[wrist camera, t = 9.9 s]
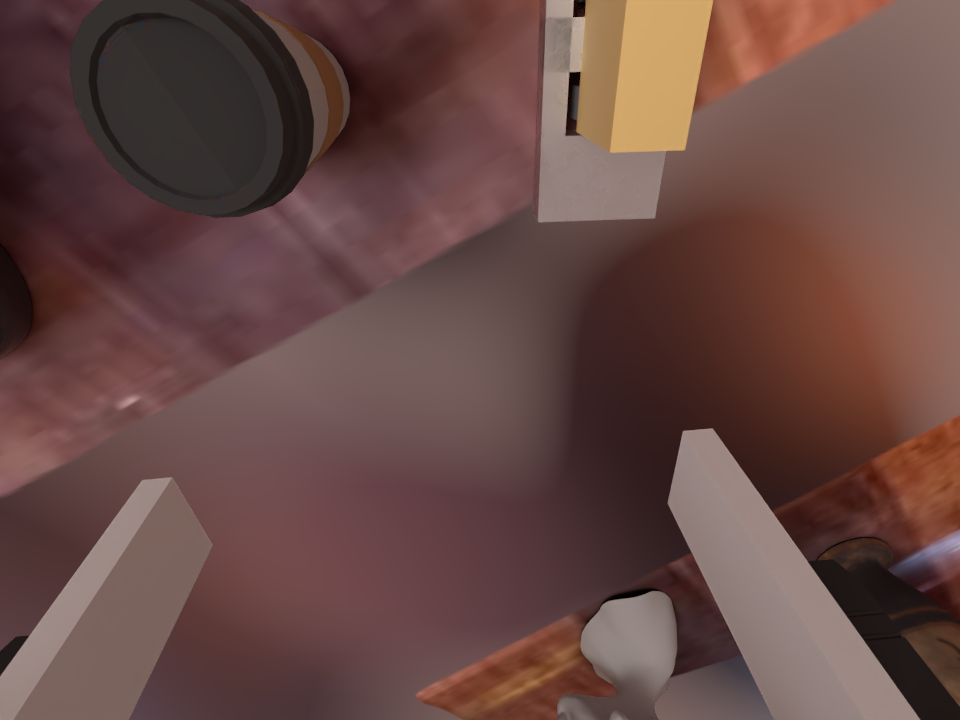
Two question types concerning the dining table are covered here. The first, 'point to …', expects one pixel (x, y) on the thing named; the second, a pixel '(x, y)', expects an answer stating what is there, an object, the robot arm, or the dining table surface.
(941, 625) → the vase
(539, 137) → the grey slotted base plate
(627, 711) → the head bust
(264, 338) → the dining table surface
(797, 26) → the dining table surface
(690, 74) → the yellow block
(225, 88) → the coffee cup
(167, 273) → the dining table surface
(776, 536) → the robot arm
